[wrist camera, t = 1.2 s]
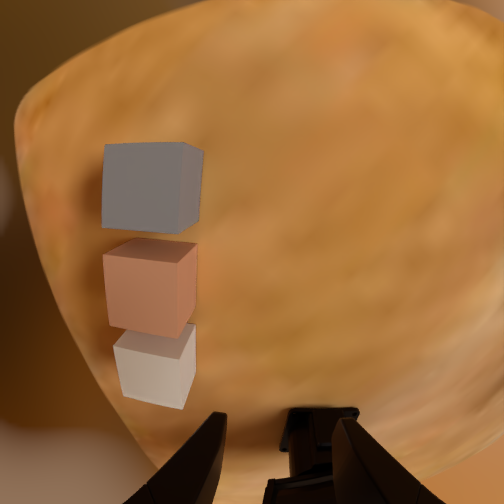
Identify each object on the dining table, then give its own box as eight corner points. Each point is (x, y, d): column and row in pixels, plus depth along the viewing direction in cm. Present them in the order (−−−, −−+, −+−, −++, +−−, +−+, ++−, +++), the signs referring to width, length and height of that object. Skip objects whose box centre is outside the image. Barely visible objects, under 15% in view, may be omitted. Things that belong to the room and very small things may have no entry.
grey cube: (198, 220, 18) (177, 234, 14) (135, 216, 18) (101, 227, 14) (203, 151, 17) (183, 142, 13) (139, 150, 17) (104, 144, 13)
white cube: (195, 371, 21) (182, 409, 17) (143, 362, 21) (123, 395, 17) (195, 324, 20) (179, 359, 16) (138, 315, 20) (112, 345, 16)
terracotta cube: (195, 306, 20) (177, 338, 15) (137, 297, 20) (109, 325, 15) (197, 243, 19) (177, 263, 14) (135, 237, 19) (102, 254, 14)
